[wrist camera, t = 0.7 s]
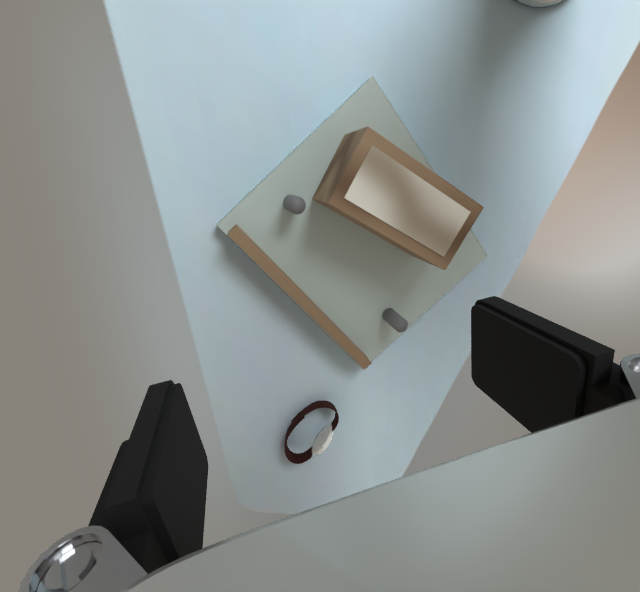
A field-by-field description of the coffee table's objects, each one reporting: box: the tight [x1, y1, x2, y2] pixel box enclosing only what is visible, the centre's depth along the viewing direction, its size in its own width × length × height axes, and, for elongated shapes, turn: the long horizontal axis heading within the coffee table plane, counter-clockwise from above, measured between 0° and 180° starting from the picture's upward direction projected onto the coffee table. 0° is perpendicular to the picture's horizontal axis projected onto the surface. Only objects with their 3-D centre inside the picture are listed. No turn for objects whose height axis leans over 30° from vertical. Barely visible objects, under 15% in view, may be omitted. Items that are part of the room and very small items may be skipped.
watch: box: [285, 401, 339, 464], centre depth 39 cm, size 8×5×4 cm, turn 141°
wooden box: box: [312, 126, 483, 270], centre depth 30 cm, size 6×12×6 cm, turn 61°
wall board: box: [217, 77, 487, 369], centre depth 33 cm, size 18×21×4 cm
